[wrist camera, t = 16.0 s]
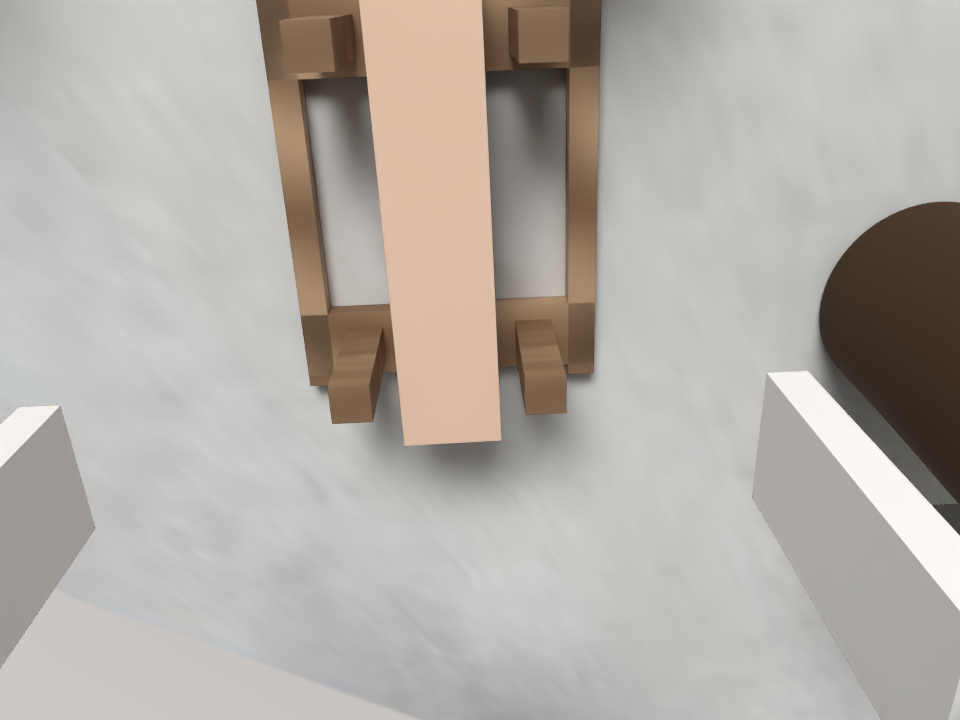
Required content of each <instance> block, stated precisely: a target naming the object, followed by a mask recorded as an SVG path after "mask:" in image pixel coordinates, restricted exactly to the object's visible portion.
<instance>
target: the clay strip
mask: <svg viewBox="0 0 960 720" xmlns="http://www.w3.org/2000/svg"><path fill="white" fill-rule="evenodd" d="M359 6H360V15H361V25H362V35H363V45H364V55H365V64H366V74H367V84H368V94H369V103H370V113H371V123H372V133H373V142H374V152H375V162H376V172H377V182H378V191H379V201H380V211H381V221H382V230H383V240H384V250H385V260H386V270H387V279H388V289H389V299H390V309H391V318H392V328H393V338H394V348H395V358H396V367H397V377H398V387H399V397H400V406H401V416H402V426H403V436H404V446H410V445H428V444H446V443H464V442H482V441H501V421H500V399H499V376H498V354H497V332H496V309H495V287H494V264H493V242H492V220H491V197H490V175H489V153H488V130H487V108H486V85H485V63H484V41H483V18H482V0H359Z"/></svg>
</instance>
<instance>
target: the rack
mask: <svg viewBox="0 0 960 720" xmlns="http://www.w3.org/2000/svg"><path fill="white" fill-rule="evenodd" d="M256 3H257V10H258V17H259V24H260V32H261V39H262V46H263V53H264V60H265V67H266V74H267V81H268V88H269V95H270V102H271V109H272V116H273V124H274V131H275V138H276V145H277V152H278V159H279V166H280V173H281V180H282V187H283V194H284V201H285V208H286V216H287V223H288V230H289V237H290V244H291V251H292V258H293V265H294V272H295V279H296V286H297V293H298V300H299V308H300V315H301V322H302V329H303V336H304V343H305V350H306V357H307V364H308V371H309V378H310V385H311V386H320V385H328V387H327V389H328V396H329V404H330V411H331V419H332V424H341V423H363V422H373V419H374V414H375V409H376V404H377V399H378V394H379V389H380V384H381V379H382V374H383V373H391V372H397V367H396V358H395V348H394V338H393V328H392V318H391V309H390V304H380V305H359V306H337V307H331V305H330V297H329V289H328V281H327V273H326V265H325V257H324V249H323V241H322V233H321V225H320V217H319V209H318V200H317V192H316V184H315V176H314V168H313V160H312V152H311V144H310V136H309V128H308V120H307V112H306V104H305V96H304V88H303V80H302V79H321V78H344V77H366V76H367V74H366V64H365V55H364V45H363V35H362V25H361V15H360V6H359V0H256ZM482 18H483V41H484V63H485V71H502V70H525V69H547V68H567V79H566V296H556V297H534V298H512V299H495V309H496V332H497V354H498V368H499V367H518V369H519V376H520V382H521V388H522V395H523V401H524V407H525V414H526V415H535V414H556V413H566V392H567V376H566V372H565V369H564V364H565V366H566V369H567V373H568V374H580V373H593V372H594V323H595V274H596V225H597V177H598V128H599V79H600V30H601V0H482Z"/></svg>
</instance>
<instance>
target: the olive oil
mask: <svg viewBox="0 0 960 720" xmlns="http://www.w3.org/2000/svg"><path fill="white" fill-rule="evenodd" d="M820 326H821V333H822V337H823V341H824V344H825V346H826V349H827V351H828V353H829V355H830V357H831V358H832V360H833V361H834V363H835V364H836V365H837V367H838V368H839V369H840V370H841V371H842V372H843V374H844V375H845V376H846V377H847V378H848V379H849V380H850V381H851V382H852V383H853V384H854V385H855V387H856V388H857V389H858V390H859V391H860V392H861V393H862V394H863V395H864V396H865V397H866V399H867V400H868V401H869V402H870V403H871V404H872V405H873V406H874V407H875V408H876V409H877V410H878V412H879V413H880V414H881V415H882V416H883V417H884V418H885V419H886V420H887V422H888V423H889V424H890V425H891V426H892V427H893V428H894V429H895V431H896V432H897V433H898V434H899V435H900V436H901V438H902V439H903V440H904V441H905V442H906V443H907V444H908V446H909V447H910V448H911V449H912V450H913V451H914V453H915V454H916V455H917V456H918V457H919V458H920V459H921V461H922V462H923V463H924V464H925V465H926V466H927V468H928V469H929V470H930V471H931V472H932V473H933V474H934V476H935V477H936V478H937V479H938V480H939V481H940V483H941V484H942V485H943V486H944V487H945V488H946V490H947V491H948V492H949V493H950V494H951V495H952V497H953V498H954V499H955V500H956V501H957V503H958V504H959V505H960V203H958V202H933V203H926V204H921V205H917V206H913V207H910V208H907V209H904V210H902V211H899V212H897V213H895V214H892V215H890V216H889V217H887V218H885V219H883V220H881V221H880V222H878V223H877V224H875V225H874V226H872V227H871V228H870V229H868V230H867V231H866V232H865V233H863V234H862V235H861V236H860V237H859V238H858V239H857V240H856V241H855V242H854V243H853V244H852V245H851V246H850V247H849V248H848V249H847V251H846V252H845V253H844V254H843V256H842V257H841V258H840V260H839V261H838V263H837V265H836V266H835V268H834V270H833V271H832V273H831V275H830V277H829V280H828V282H827V285H826V287H825V290H824V294H823V298H822V303H821V310H820Z"/></svg>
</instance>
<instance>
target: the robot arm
mask: <svg viewBox="0 0 960 720" xmlns="http://www.w3.org/2000/svg"><path fill="white" fill-rule="evenodd" d="M752 498H753V500H754V502H755V503H756V505H757V507H758V508H759V510H760V512H761V514H762V515H763V517H764V519H765V521H766V522H767V524H768V526H769V527H770V529H771V531H772V533H773V534H774V536H775V538H776V539H777V541H778V543H779V545H780V546H781V548H782V550H783V551H784V553H785V555H786V557H787V558H788V560H789V562H790V564H791V565H792V567H793V569H794V570H795V572H796V574H797V576H798V577H799V579H800V581H801V582H802V584H803V586H804V588H805V589H806V591H807V593H808V594H809V596H810V598H811V600H812V601H813V603H814V605H815V607H816V608H817V610H818V612H819V613H820V615H821V617H822V619H823V620H824V622H825V624H826V625H827V627H828V629H829V631H830V632H831V634H832V636H833V637H834V639H835V641H836V643H837V644H838V646H839V648H840V650H841V651H842V653H843V655H844V656H845V658H846V660H847V662H848V663H849V665H850V667H851V668H852V670H853V672H854V674H855V675H856V677H857V679H858V681H859V682H860V684H861V686H862V687H863V689H864V691H865V693H866V694H867V696H868V698H869V699H870V701H871V703H872V705H873V706H874V708H875V710H876V711H877V713H878V715H879V717H880V718H881V720H960V506H959V505H958V504H946V505H931V504H930V503H929V502H928V501H927V500H926V499H925V498H924V496H923V495H922V494H921V493H920V492H919V491H918V490H917V489H916V488H915V487H914V486H913V485H912V483H911V482H910V481H909V480H908V479H907V478H906V477H905V476H904V475H903V474H902V473H901V472H900V470H899V469H898V468H897V467H896V466H895V465H894V464H893V463H892V462H891V461H890V460H889V459H888V457H887V456H886V455H885V454H884V453H883V452H882V451H881V450H880V449H879V448H878V447H877V446H876V444H875V443H874V442H873V441H872V440H871V439H870V438H869V437H868V436H867V435H866V434H865V433H864V431H863V430H862V429H861V428H860V427H859V426H858V425H857V424H856V423H855V422H854V421H853V419H852V418H851V417H850V416H849V415H848V414H847V413H846V412H845V411H844V410H843V409H842V408H841V406H840V405H839V404H838V403H837V402H836V401H835V400H834V399H833V398H832V397H831V396H830V395H829V393H828V392H827V391H826V390H825V389H824V388H823V387H822V386H821V385H820V384H819V383H818V382H817V380H816V379H815V378H814V377H813V376H812V375H811V374H810V373H809V372H808V371H797V372H776V373H767V375H766V383H765V392H764V400H763V409H762V417H761V425H760V434H759V442H758V451H757V459H756V467H755V476H754V484H753V493H752ZM94 530H95V524H94V521H93V518H92V514H91V511H90V507H89V504H88V500H87V497H86V493H85V490H84V486H83V483H82V479H81V476H80V472H79V469H78V465H77V462H76V458H75V455H74V452H73V448H72V445H71V441H70V438H69V434H68V431H67V427H66V424H65V420H64V417H63V413H62V410H61V406H40V407H19V408H18V409H17V410H16V411H15V412H14V413H12V414H11V415H10V416H9V417H8V418H7V419H6V420H5V421H4V422H3V423H2V424H1V425H0V668H1V666H2V665H3V664H4V662H5V661H6V659H7V658H8V656H9V655H10V653H11V652H12V650H13V649H14V647H15V646H16V645H17V643H18V642H19V640H20V639H21V637H22V635H23V634H24V633H25V631H26V630H27V628H28V627H29V625H30V624H31V622H32V621H33V619H34V618H35V616H36V615H37V614H38V612H39V611H40V609H41V608H42V606H43V605H44V603H45V602H46V600H47V599H48V597H49V596H50V594H51V593H52V591H53V590H54V589H55V587H56V586H57V584H58V583H59V581H60V580H61V578H62V577H63V575H64V574H65V572H66V571H67V569H68V568H69V566H70V565H71V563H72V562H73V561H74V559H75V558H76V556H77V555H78V553H79V552H80V550H81V549H82V547H83V546H84V544H85V543H86V541H87V540H88V538H89V537H90V535H91V534H92V533H93V531H94Z"/></svg>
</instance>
